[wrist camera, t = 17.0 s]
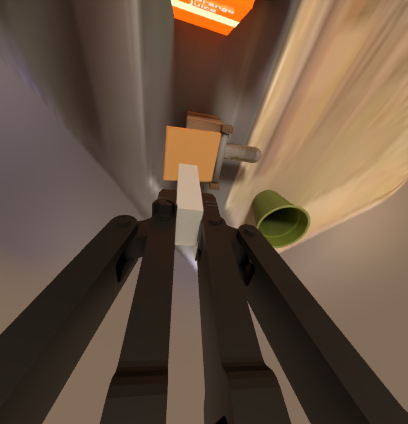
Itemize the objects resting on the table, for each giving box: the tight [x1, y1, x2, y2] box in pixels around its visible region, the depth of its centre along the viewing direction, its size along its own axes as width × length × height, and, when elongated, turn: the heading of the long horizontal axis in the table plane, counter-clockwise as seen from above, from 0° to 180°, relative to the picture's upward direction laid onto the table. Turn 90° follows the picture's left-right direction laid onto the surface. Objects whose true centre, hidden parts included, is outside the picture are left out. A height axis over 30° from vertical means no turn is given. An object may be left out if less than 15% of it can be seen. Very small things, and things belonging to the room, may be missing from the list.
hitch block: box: [185, 111, 233, 190], centre depth 35 cm, size 10×7×12 cm, turn 170°
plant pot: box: [253, 190, 310, 248], centre depth 46 cm, size 12×12×11 cm
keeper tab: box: [163, 126, 229, 182], centre depth 30 cm, size 8×10×1 cm
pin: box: [224, 143, 261, 163], centre depth 36 cm, size 5×17×5 cm, turn 80°
